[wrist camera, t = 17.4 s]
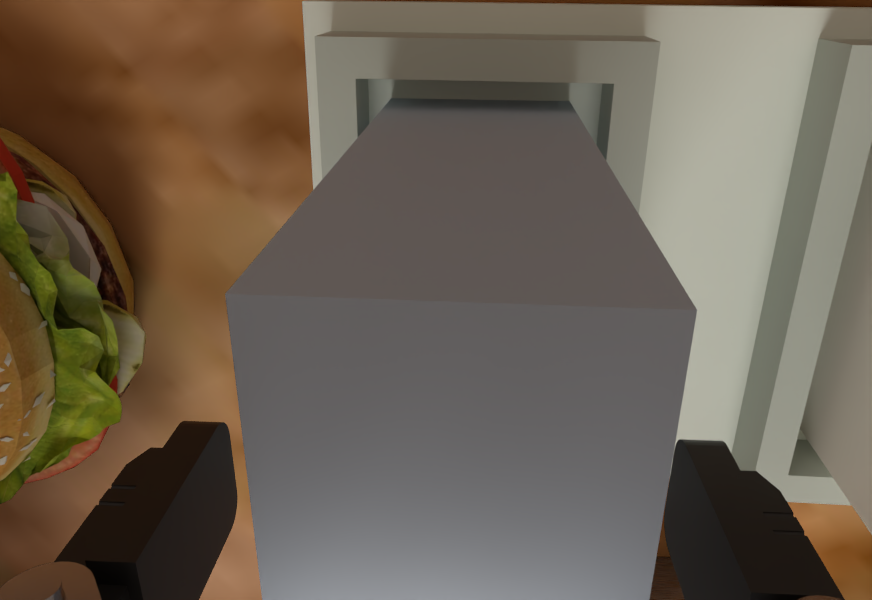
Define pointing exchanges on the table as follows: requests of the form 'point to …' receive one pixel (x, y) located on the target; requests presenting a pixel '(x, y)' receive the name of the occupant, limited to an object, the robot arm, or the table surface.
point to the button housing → (665, 581)
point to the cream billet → (847, 368)
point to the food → (58, 319)
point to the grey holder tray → (664, 163)
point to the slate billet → (461, 367)
